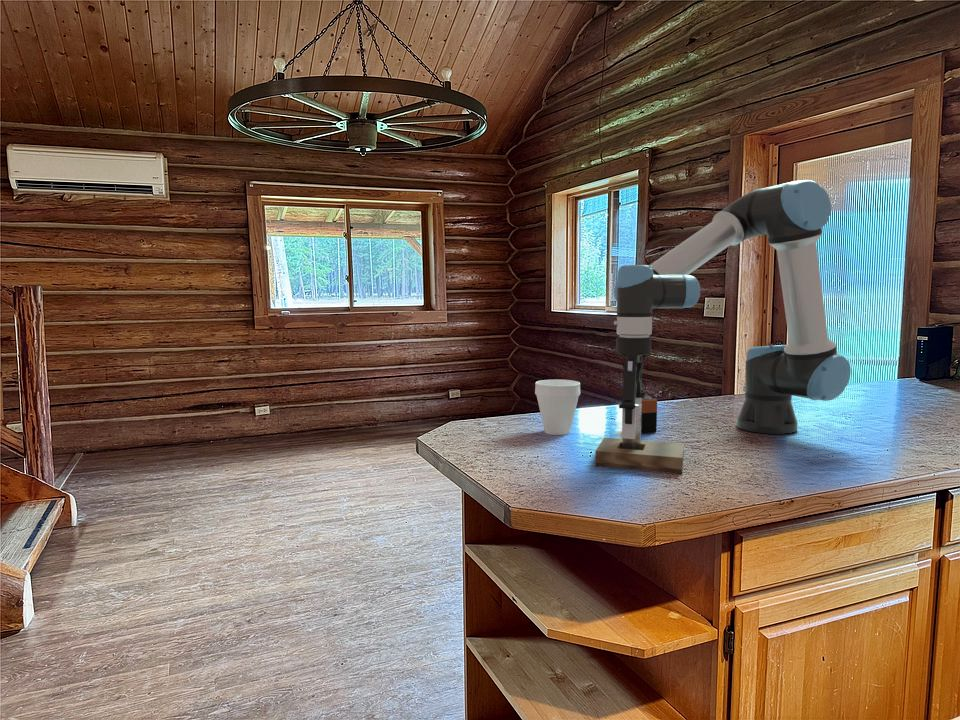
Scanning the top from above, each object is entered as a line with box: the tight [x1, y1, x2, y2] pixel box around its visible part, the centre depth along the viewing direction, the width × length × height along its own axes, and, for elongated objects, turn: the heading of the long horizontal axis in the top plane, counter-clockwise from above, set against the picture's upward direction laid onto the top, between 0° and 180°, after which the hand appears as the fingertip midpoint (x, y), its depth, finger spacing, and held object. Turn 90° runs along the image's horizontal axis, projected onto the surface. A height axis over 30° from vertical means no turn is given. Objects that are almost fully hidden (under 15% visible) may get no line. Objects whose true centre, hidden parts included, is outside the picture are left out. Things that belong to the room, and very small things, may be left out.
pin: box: [621, 403, 642, 450], centre depth 136 cm, size 4×4×12 cm
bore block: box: [594, 437, 685, 475], centre depth 136 cm, size 18×13×4 cm
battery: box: [639, 394, 658, 434], centre depth 166 cm, size 4×7×10 cm, turn 17°
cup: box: [534, 379, 581, 436], centre depth 165 cm, size 12×12×14 cm
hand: (631, 431), depth 136 cm, fingers open, 13 cm apart
